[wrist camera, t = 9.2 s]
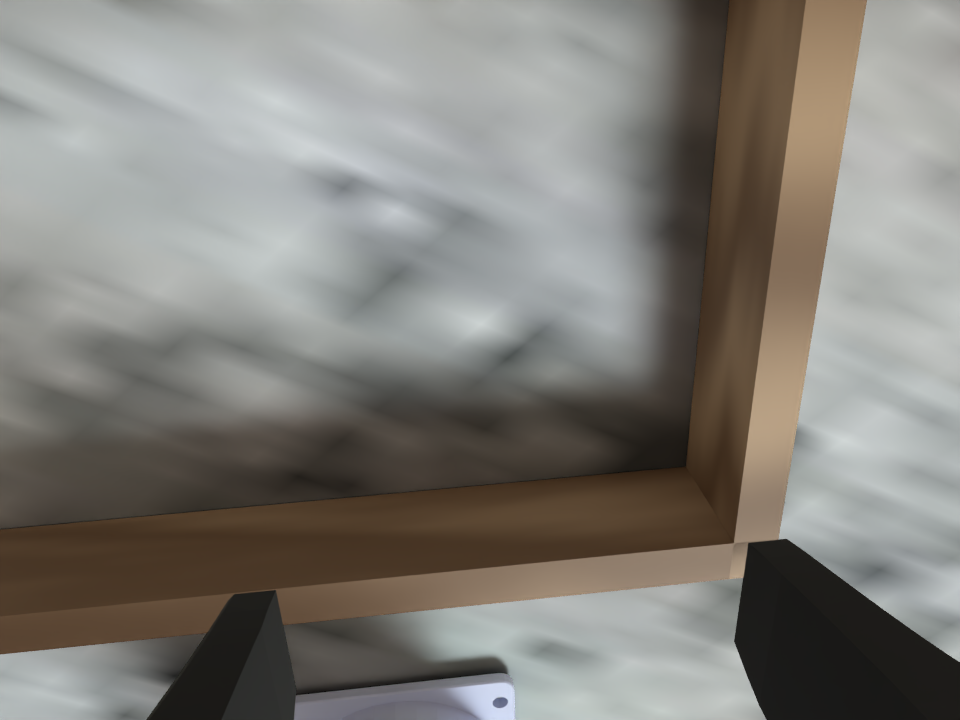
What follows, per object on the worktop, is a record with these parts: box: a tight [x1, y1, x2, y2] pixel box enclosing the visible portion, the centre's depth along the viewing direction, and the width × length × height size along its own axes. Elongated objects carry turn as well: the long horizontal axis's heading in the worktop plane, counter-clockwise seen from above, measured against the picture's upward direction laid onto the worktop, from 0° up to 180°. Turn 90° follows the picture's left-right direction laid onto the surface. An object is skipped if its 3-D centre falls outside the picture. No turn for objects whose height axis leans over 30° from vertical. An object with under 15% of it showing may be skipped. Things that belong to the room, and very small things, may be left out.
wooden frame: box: [0, 0, 867, 654], centre depth 17 cm, size 17×22×4 cm
